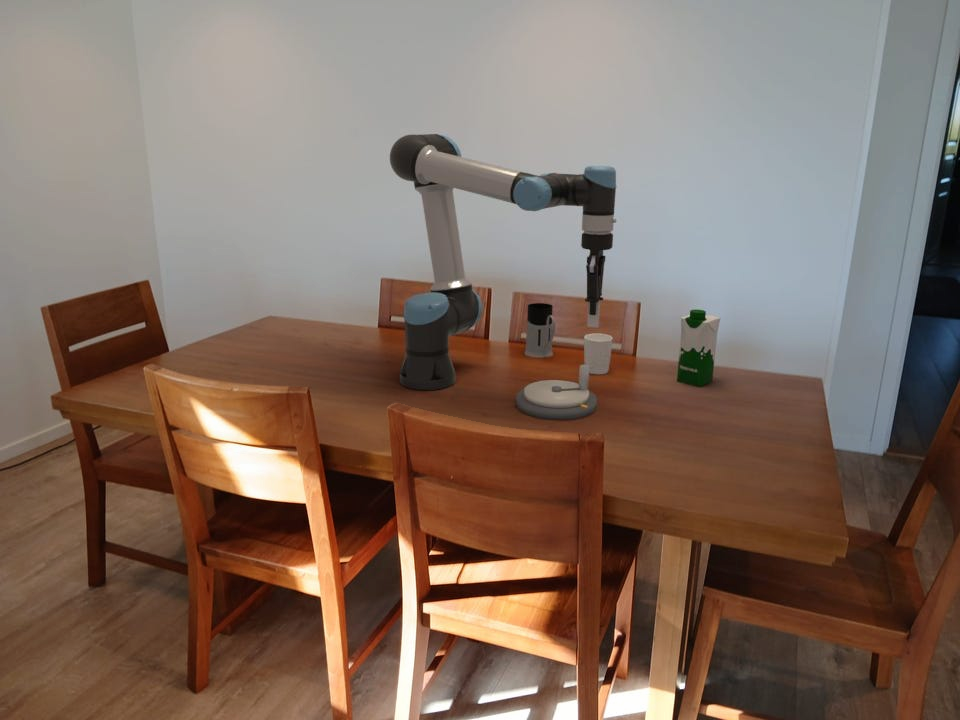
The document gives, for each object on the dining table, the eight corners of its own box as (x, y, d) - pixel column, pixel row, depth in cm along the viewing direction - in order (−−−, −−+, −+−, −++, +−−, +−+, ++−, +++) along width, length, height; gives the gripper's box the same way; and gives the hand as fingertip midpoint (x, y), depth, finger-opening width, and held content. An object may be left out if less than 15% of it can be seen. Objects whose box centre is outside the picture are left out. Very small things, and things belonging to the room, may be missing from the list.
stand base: (506, 413, 175) (506, 405, 174) (527, 387, 193) (527, 379, 193) (588, 424, 169) (589, 415, 168) (602, 395, 187) (603, 387, 187)
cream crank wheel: (533, 410, 171) (534, 380, 169) (517, 387, 186) (517, 359, 184) (598, 405, 175) (600, 375, 172) (577, 383, 190) (578, 356, 187)
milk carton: (672, 381, 198) (678, 310, 192) (688, 373, 205) (694, 304, 199) (701, 388, 193) (709, 315, 187) (717, 380, 199) (725, 309, 193)
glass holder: (545, 348, 228) (547, 301, 224) (566, 361, 215) (568, 312, 211) (519, 351, 225) (520, 303, 221) (539, 364, 213) (540, 314, 208)
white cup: (610, 376, 202) (612, 341, 199) (581, 374, 204) (583, 340, 201) (611, 367, 210) (613, 334, 207) (583, 365, 211) (585, 332, 208)
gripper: (608, 236, 169) (603, 334, 176) (617, 229, 180) (611, 321, 188) (576, 234, 171) (572, 331, 178) (587, 228, 183) (582, 319, 190)
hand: (592, 326), depth 183 cm, fingers closed
